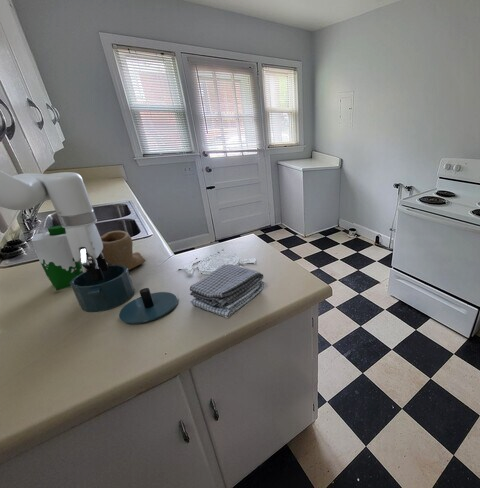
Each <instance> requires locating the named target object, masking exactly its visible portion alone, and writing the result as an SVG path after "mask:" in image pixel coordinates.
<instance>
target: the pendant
mask: <svg viewBox="0 0 480 488" xmlns="http://www.w3.org/2000/svg"><path fill="white" fill-rule="evenodd" d="M220 251H221V250H220ZM231 251H232V250H223V251H221V252H227V253H228V252H231ZM217 252H218V251H214V252H213V253H217ZM219 256H220V257H219ZM221 256H222V257H221ZM213 257H217V258H214V259H213ZM207 258H208V259H207ZM191 261H192V260H191ZM191 261H190V262H191ZM203 261H204V262H206V264H205V263H202V262H203ZM207 261H208V262H207ZM190 262H189V263H190ZM192 262H193V261H192ZM192 262H191V263H192ZM191 263H190V264H191ZM242 263H243V264H242ZM245 263H254V264H253V265H256V264H257V258H255V257H252V258H245V259H241V260H240V257H239V256H237V254H236V253H235V254H213V255H210V256H209V257H208V256H206V257H205V258H203V260H201V261H200V262H197V263H193V265H192V266H195V265H196V264H197V266H198V268H197V270H198V269H199V270H198V272H199V274H200V275H204V274H201V273H208V274H206V275H207V276H208V275H210V274H211V273H212V272H214V271H215V270H216V269H218V268H220V267H221V266H223V265H227V264H231V265H235V266H239V267H242V268H244V266H242V265H246V264H245ZM200 264H201V267H202V268H201V267H200ZM183 267H184V268H185V267H186V266H183ZM187 267H188V266H187ZM189 267H190V265H189ZM189 267H188V268H187V269H182V270H181V271H185V273H186V274H188V273H191V274H189V275H190V276H194V272H195V269H196V268H192V269H194V271H193V270H192V269H191V268H189ZM187 272H188V273H187ZM200 272H201V273H200Z"/></svg>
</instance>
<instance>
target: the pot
mask: <svg viewBox="0 0 480 488" xmlns="http://www.w3.org/2000/svg"><path fill="white" fill-rule="evenodd" d="M107 266H108V268H109V270H108V271H103V272H102V274H103V276H104V280H101V281H96V282H90V280H89V277H88V275H87V272H86V271H83V273H81V274H79V275H78V276H76V277H74V278H73V279H72V280H71V282H70V285H71V289H72V291H73V294H74V296H75V298H76V300H77V303H78V305H79V307H80V309H81V311H83V312H86V313H98V312H105V311H108V310H111V309H115V308H117V307H119V306H121V305H123V304H125V303H128V301H129V300H131V299H132V298H133V297H134V295H135V293H136V291H135V290H136V289H135V286H134V284H133V281H132V277H131V274H130V270H128V269H127V268H126V267H125V266H122V265H112V264H107Z"/></svg>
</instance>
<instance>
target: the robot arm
mask: <svg viewBox="0 0 480 488" xmlns="http://www.w3.org/2000/svg"><path fill="white" fill-rule="evenodd" d="M46 201H51V203H52V206H53V209H54V211H55V214H56V215H57V218H58V221H59V222H60V225H62V227H63V228H65V231H66V236H67V240H68V243H69V246H70V249H71V252H72V255H73V257H74V260H75V261H76V262H80V261H81V264H82V268H84V272H87V275H88V277H89V280H90V282H96V281H101V280H104V276H103V274H102V272H103V271H108V270H109V268H108V266H107V263H106V260H105V259H103V258H104V255H103V253H102V250H103V243H102V240H101V237H100V236H101V235H100V232H99V230H98V227H97V225H96V223H97V222H98V219H97V216H96V213H95V210H94V208H93V205H92V203H91V202H92V201H91V199H90V197H89V193H88V191H87V188H86V185H85V182H84V180H83V177H82V175H80V174H79V173H77V172H74V171H64V172H54V173H53V172H52V173H31V172H30V173H29V172H25V173H19V174H15V175H11V174H8V173H6V172H5V171H3V170H1V169H0V207H1V208H4V209H8V210H11V211H12V210H13V211H26V210H30V209H32V208H34V207H36V206H38V205H39V204H41V203H43V202H46Z"/></svg>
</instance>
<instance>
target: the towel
mask: <svg viewBox="0 0 480 488" xmlns="http://www.w3.org/2000/svg"><path fill="white" fill-rule="evenodd" d="M239 266H240V265H239ZM239 266H235V265H231V264H227V265H223V266H221V267H220V268H218V269H216V270H215V271H214V272H212V273H211V274H210V275H207V276H205V277H204V278H202V279H200V280H199V281H197V282H196V283H193V284H191V285H190V286H189V291H190V293H189V295H190V296H192V297H193V298H192V299H190V304H192V306H194V307H196V308H200V309H202V310H205V311H208V312H211V313H213V314H215V315H217V316H221V317H223V318H226V319H228V318H230V317H231V316H233V315H234V313H236V312H237V311H238V310H240V309H241V308H242V307H244V306H246V304H248V303H249V302H250V301H251V300H253V299H254V298H255V297H256V296H258V295H259V294H260V292H261V291H262V290H263V289H264V287H265V282H264V281H263V279H264V274H263V273H261V272H260V271H257V270H254V269H249V268H247V267H243V266H242V267H243V268H242V267H239Z"/></svg>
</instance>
